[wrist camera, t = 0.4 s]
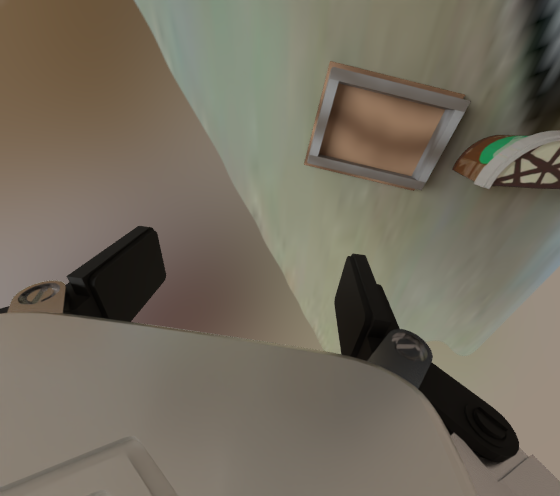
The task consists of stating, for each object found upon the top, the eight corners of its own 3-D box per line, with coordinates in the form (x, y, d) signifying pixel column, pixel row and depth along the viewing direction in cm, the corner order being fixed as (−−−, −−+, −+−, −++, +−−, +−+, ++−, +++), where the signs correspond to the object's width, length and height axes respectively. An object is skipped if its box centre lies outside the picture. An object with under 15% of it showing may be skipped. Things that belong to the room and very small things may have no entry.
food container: (553, 126, 32) (644, 134, 23) (527, 172, 35) (598, 193, 26) (459, 124, 33) (512, 130, 24) (442, 169, 36) (484, 188, 27)
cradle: (329, 62, 30) (332, 57, 27) (460, 95, 31) (477, 93, 28) (304, 162, 37) (304, 168, 34) (411, 188, 38) (420, 195, 35)
